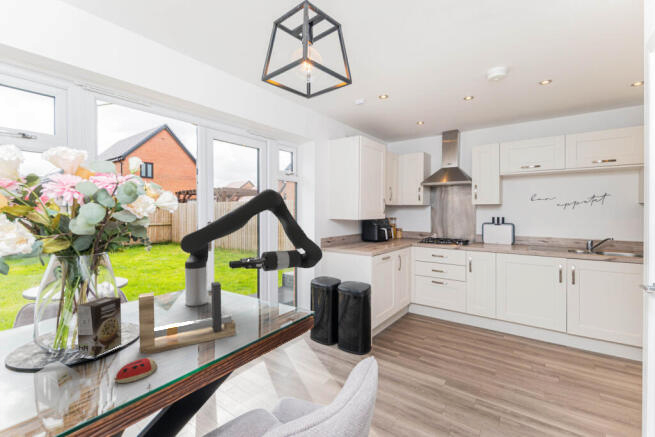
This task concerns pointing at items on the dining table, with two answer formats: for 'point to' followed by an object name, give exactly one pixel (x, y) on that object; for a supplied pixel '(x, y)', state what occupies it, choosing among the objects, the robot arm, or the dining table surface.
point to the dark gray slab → (216, 305)
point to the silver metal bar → (189, 326)
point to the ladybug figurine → (136, 370)
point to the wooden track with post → (173, 341)
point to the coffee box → (99, 326)
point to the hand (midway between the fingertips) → (230, 265)
